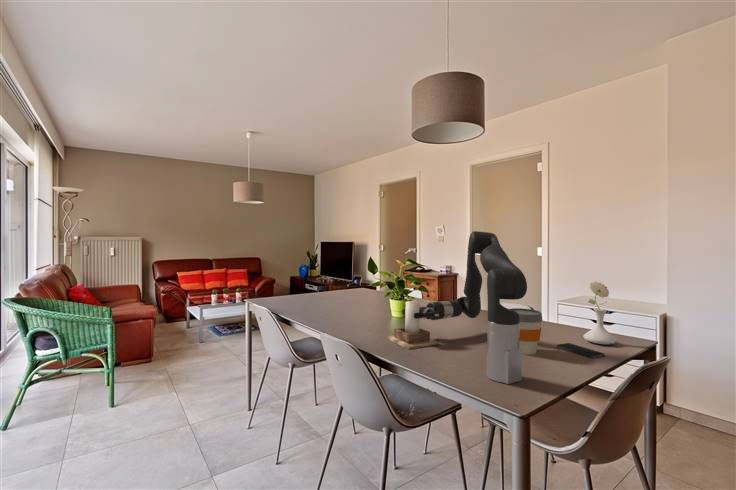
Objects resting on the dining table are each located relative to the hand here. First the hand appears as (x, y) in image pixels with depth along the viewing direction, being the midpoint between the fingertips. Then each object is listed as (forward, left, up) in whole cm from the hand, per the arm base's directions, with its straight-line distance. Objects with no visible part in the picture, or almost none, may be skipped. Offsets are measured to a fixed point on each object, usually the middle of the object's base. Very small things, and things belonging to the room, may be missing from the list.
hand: (408, 313), depth 147 cm
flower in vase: (-35, -71, -12) cm, 80 cm away
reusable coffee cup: (-29, -33, -12) cm, 45 cm away
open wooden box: (0, -2, -11) cm, 12 cm away
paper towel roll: (0, -2, -10) cm, 11 cm away
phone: (-39, -52, -12) cm, 66 cm away
